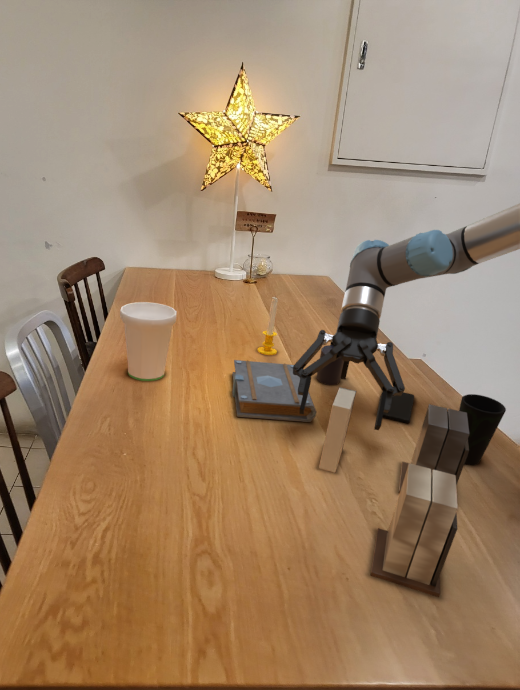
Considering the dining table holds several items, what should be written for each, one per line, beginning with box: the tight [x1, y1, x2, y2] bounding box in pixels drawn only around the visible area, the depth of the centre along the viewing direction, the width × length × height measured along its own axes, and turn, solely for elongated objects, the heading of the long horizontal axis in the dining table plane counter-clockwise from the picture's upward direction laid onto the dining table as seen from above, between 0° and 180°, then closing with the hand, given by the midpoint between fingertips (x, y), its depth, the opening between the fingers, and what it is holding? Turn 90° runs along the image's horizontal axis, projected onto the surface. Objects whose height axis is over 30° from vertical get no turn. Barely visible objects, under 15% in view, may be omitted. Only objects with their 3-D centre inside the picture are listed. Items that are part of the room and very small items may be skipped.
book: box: [231, 359, 317, 423], centre depth 119 cm, size 21×16×5 cm
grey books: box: [398, 403, 469, 495], centre depth 92 cm, size 9×10×14 cm
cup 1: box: [119, 301, 178, 382], centre depth 122 cm, size 12×12×15 cm
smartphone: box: [382, 391, 415, 424], centre depth 122 cm, size 7×1×15 cm
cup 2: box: [458, 393, 507, 466], centre depth 102 cm, size 8×8×12 cm
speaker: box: [316, 342, 350, 386], centre depth 130 cm, size 8×6×10 cm
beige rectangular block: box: [318, 386, 357, 474], centre depth 97 cm, size 3×8×13 cm, turn 160°
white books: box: [370, 462, 459, 598], centre depth 74 cm, size 9×10×14 cm
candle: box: [257, 295, 279, 356], centre depth 142 cm, size 5×5×16 cm
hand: (338, 420), depth 97 cm, fingers open, 13 cm apart
